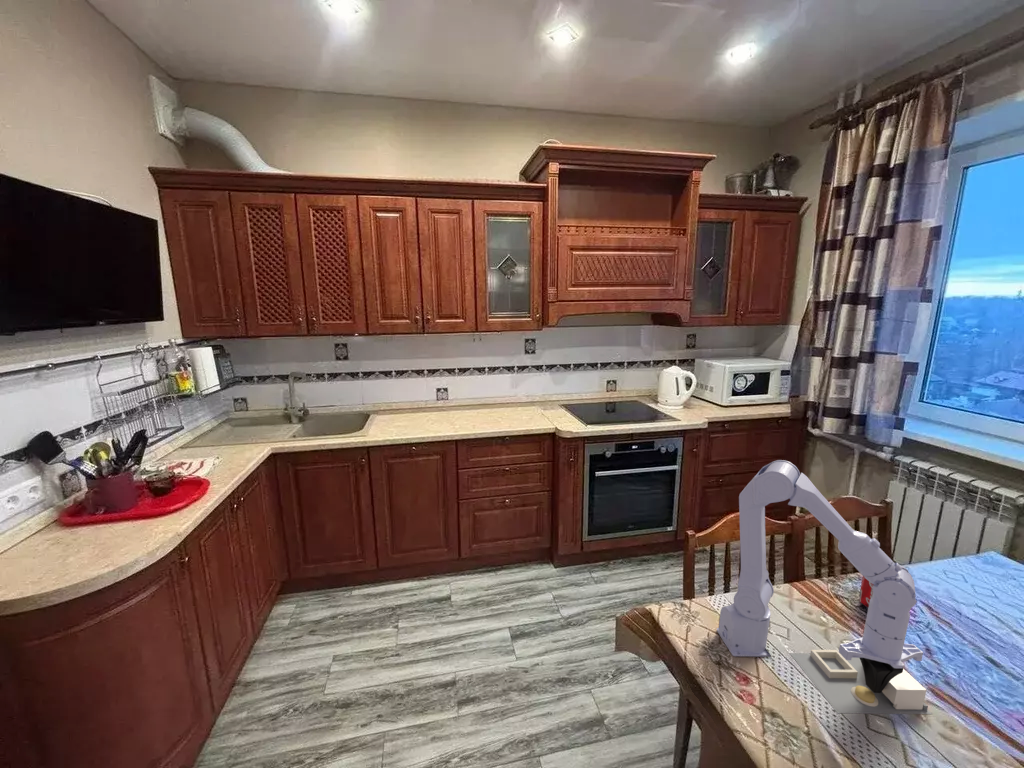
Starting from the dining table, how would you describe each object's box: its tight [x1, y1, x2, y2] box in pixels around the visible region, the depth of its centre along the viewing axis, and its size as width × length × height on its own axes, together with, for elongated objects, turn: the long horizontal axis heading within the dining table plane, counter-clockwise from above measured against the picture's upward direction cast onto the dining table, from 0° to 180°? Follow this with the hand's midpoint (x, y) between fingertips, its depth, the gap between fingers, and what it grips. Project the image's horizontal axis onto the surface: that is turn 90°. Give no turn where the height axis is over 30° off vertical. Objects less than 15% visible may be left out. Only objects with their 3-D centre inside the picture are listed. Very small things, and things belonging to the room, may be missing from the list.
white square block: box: [882, 668, 928, 710], centre depth 82 cm, size 6×6×4 cm
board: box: [789, 649, 933, 715], centre depth 86 cm, size 18×14×3 cm
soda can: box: [858, 575, 874, 609], centre depth 108 cm, size 7×7×12 cm
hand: (873, 688), depth 83 cm, fingers closed
